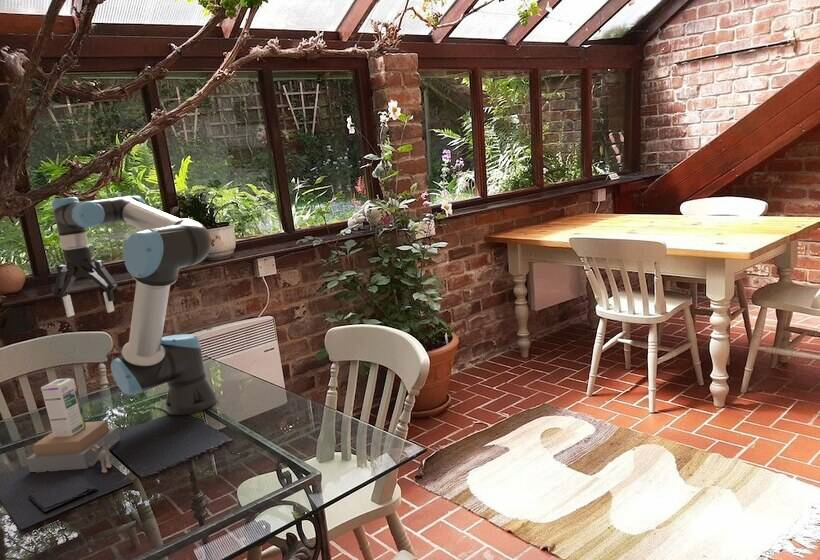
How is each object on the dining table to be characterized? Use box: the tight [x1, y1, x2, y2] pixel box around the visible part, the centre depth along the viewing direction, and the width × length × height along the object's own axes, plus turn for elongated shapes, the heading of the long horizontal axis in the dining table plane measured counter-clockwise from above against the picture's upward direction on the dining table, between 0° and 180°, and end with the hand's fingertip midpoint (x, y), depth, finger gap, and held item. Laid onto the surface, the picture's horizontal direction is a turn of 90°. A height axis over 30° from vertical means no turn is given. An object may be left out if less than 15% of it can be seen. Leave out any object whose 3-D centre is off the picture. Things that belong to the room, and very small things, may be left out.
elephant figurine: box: [89, 438, 117, 474], centre depth 161 cm, size 10×6×9 cm
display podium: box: [26, 420, 121, 473], centre depth 170 cm, size 16×16×7 cm
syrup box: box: [40, 377, 86, 437], centre depth 168 cm, size 6×6×14 cm
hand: (91, 313), depth 198 cm, fingers open, 13 cm apart
